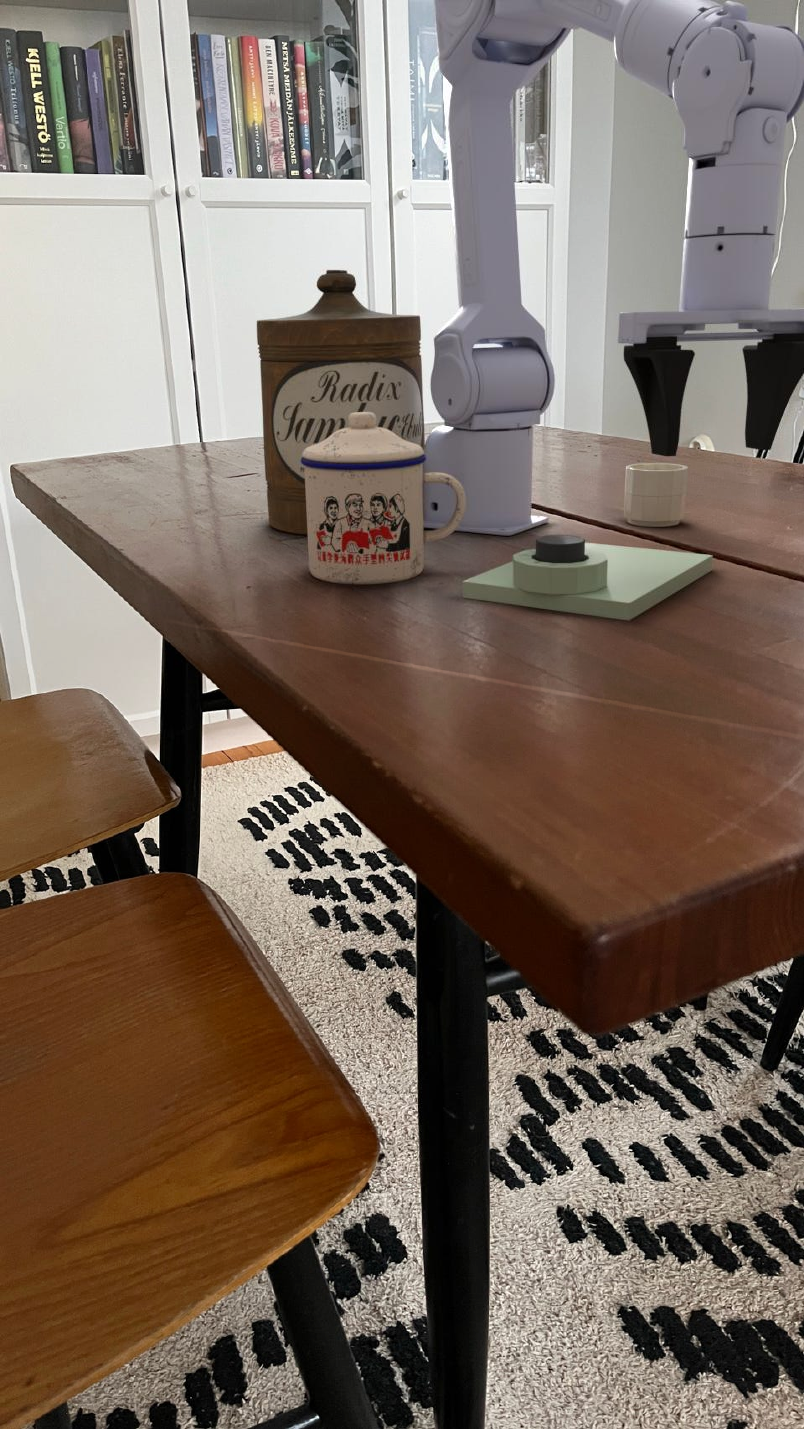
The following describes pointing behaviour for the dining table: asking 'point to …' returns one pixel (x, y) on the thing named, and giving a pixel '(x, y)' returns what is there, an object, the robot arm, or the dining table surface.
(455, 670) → the dining table surface
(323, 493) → the teacup with lid
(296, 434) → the wooden container
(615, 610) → the scale
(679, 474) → the cup
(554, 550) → the button
